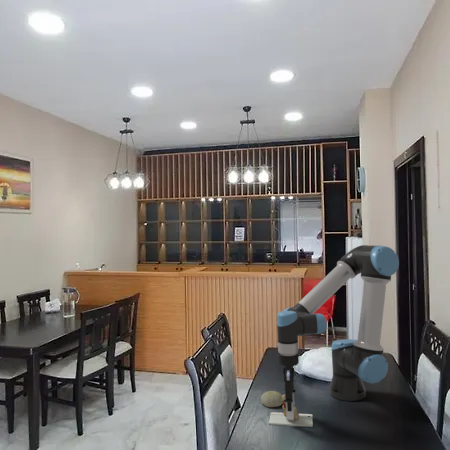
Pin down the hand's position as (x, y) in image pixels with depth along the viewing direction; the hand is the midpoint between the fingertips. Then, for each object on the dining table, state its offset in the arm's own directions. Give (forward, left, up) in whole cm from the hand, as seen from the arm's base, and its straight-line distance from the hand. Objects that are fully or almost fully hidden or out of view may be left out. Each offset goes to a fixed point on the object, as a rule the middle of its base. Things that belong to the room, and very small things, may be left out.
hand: (290, 414), depth 156 cm
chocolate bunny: (0, 0, -1) cm, 1 cm away
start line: (0, -6, -3) cm, 6 cm away
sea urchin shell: (+8, -15, -3) cm, 17 cm away
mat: (0, 0, -3) cm, 3 cm away
